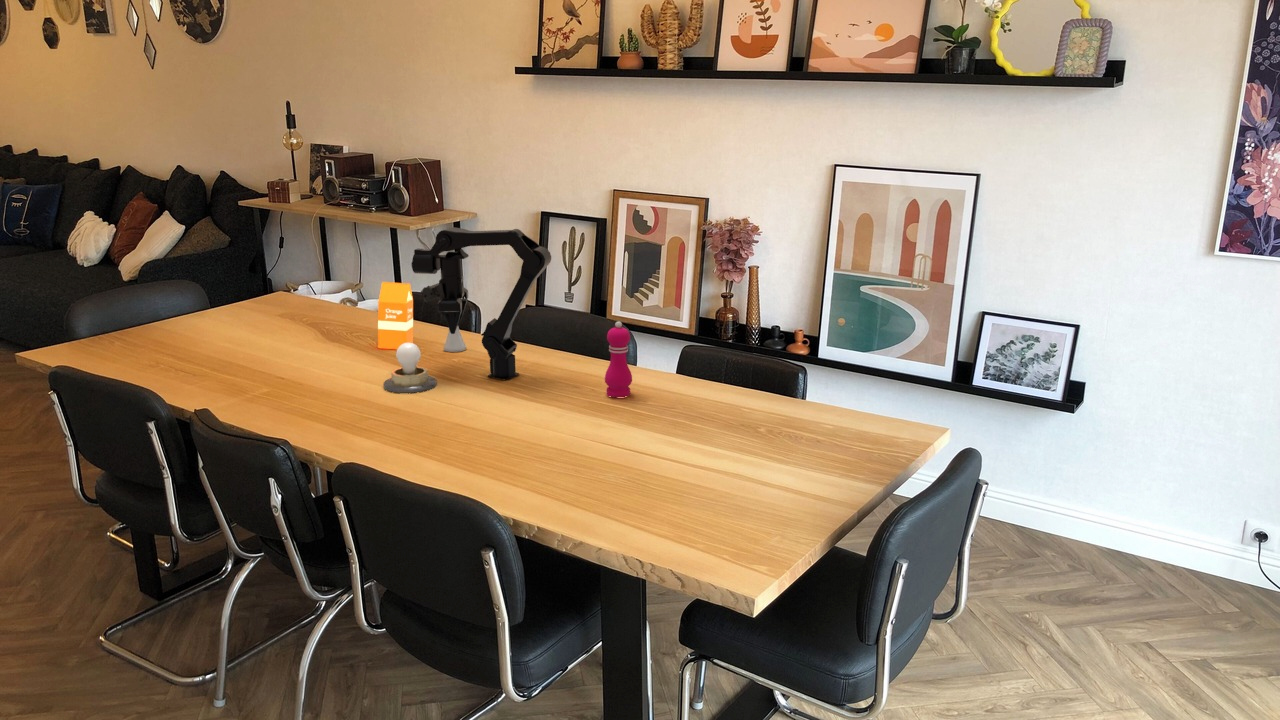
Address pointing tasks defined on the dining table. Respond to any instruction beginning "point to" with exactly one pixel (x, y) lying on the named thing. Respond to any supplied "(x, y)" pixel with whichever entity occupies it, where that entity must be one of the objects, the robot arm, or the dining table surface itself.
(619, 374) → the pepper mill
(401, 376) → the holder
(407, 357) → the lightbulb
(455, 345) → the flask
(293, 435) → the dining table surface
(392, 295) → the orange juice
